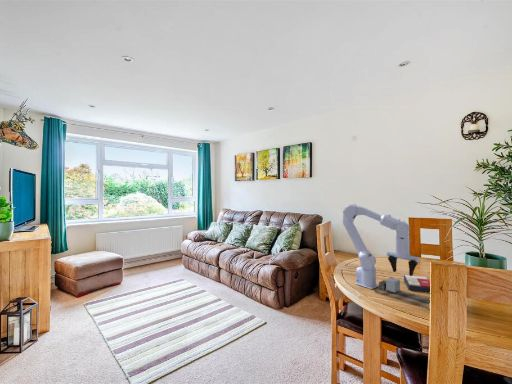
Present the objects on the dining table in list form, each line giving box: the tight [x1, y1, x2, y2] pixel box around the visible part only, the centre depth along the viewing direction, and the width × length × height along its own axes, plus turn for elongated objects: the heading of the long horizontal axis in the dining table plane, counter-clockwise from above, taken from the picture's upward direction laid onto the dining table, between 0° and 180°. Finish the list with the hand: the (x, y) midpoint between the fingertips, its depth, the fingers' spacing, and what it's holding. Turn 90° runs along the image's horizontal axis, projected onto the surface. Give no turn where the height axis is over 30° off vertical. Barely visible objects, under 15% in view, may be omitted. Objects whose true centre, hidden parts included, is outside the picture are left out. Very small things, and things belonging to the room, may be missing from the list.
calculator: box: [403, 274, 431, 294], centre depth 128 cm, size 11×4×15 cm
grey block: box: [385, 277, 401, 293], centre depth 119 cm, size 4×6×5 cm
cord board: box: [374, 280, 430, 310], centre depth 114 cm, size 25×10×4 cm, turn 37°
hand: (402, 273), depth 121 cm, fingers open, 7 cm apart
